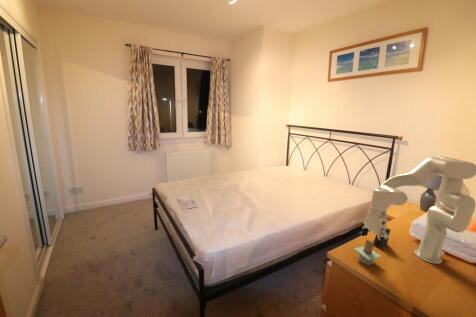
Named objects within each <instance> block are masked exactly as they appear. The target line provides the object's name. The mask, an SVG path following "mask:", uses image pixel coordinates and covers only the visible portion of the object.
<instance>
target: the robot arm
mask: <svg viewBox="0 0 476 317" xmlns="http://www.w3.org/2000/svg"><path fill="white" fill-rule="evenodd" d="M435 176H441V182H440V185H439V188H438V191H437V195H436V198H435V199H436V202H437V203H438V204H440V205H442V206H440V205H432V206H430V207H429V208H428V209H427V212H426V223H425V227H424V230H423V232H422V236H421V239H420V243H419V246H418V248H415V249H414V251H413V252H414V255H415V256H416V257H417V258H420V259H421V260H423V261H425V262H427V263H430V264H435V265H440V264H442V262H443V260H442V258H441V257H440V256H444V255H445V251H443V247H444V243H445V241H446V237H447V235H448V230H449V231H452V232H454V233H463V232H465V231H466V230H467V229H468V227H469V224H470V222H471V220H472V218H473V215H474V212H475V209H476V201H475V199H474V198H473V197H472V196H470V195H468V194H465V193H462V189H463V186H464V180H469V179H472V178H474V177H475V176H476V164H475V163H473V162H471V161H467V160H461V159H457V158H452V157H447V156H441V157H437V156H436V157H435V156H429V157H427V158H425V159H424V160H423V161H421V162H420V163H419V164H417V165H416V166H415V167H414V168H412V169H411V170H410V171H409V172H407V173H402V174H398V175H395V176H392V177H389V178H388V179H386V180H385V181H384V182H383V183H381V184H380V185H379V186H378V187H376V188H375V189H373V192H372V197H371V201H370V205H369V210H368V211H367V214H366V216H365V218H361V219H360V220H361V224H360V225H361V226H362V227H361V228H362V231H361V236H362V237H366V236H368V233H369V231H370V232H371V233H373V234H374V235H375V236H376V235H377V237H378V239H377V241H376V246H377V247H376V246H375V247H376V248H378V246H381V245H382V241H383V240H385V239H387V238H388V237H389V238H390V234H389V235H388V234H387V232H386V228H387V225H388V224H387V223H388V219H387V217H388V214H387V212H388V207H389V205H392V206H393V205H394V206H403V205H404V204H407V202H408V195H407V194H406V193H405V192H404V191H402V190H399V189H397V188H400V187H409V186H410V187H417V186H418V187H420V186H423V185H425V184H426V183H427V182H429V181H430V180H431V179H433V178H434V177H435ZM443 206H445V207H443ZM453 210H454V211H453ZM447 229H448V230H447ZM379 233H380V234H379ZM383 235H384V236H383ZM380 236H381V238H380Z"/></svg>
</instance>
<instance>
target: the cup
mask: <svg viewBox="0 0 476 317" xmlns="http://www.w3.org/2000/svg"><path fill="white" fill-rule="evenodd" d="M357 259H359V260H360V261H359V260H358V261H359V262H360V263H362V264H364V265H368V266H370V265H373V264H374V261H375V259H372V260H368V259H366V258H365V257H363V256H362V255H361V254H359V253H358V254H357Z"/></svg>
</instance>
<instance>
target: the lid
mask: <svg viewBox="0 0 476 317" xmlns="http://www.w3.org/2000/svg"><path fill="white" fill-rule="evenodd" d="M374 247H375V246H374V241H371V240H365V242H364V245H363V246H358V247H355V248H353V250H354V251H356V253H358V255H359V254H361V255H362V256H363V257H365V258H366V259H368V260H372V259H374V260H375V259H380V258H382V255H381V254H379V253H378V252H376V251H374V250H373V249H374Z"/></svg>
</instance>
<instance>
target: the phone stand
mask: <svg viewBox="0 0 476 317" xmlns="http://www.w3.org/2000/svg"><path fill="white" fill-rule="evenodd" d="M386 232H387V234H388V235H389V237H388V238H387V239H385V240H383V241H382V245H381V246H378V247H377V246H376V241H377V239H378V237H377V235H376V234H375V238H374V240H373V243H374V246H373V247H376V248H379V249H381V250H385V249H386V248H387V246H388V245H389V244H388V243H389V238H390V232H391V229H390V228H387V227H386ZM379 234H380V233H379ZM383 236H384V235H383ZM380 238H381V236H380Z"/></svg>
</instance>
